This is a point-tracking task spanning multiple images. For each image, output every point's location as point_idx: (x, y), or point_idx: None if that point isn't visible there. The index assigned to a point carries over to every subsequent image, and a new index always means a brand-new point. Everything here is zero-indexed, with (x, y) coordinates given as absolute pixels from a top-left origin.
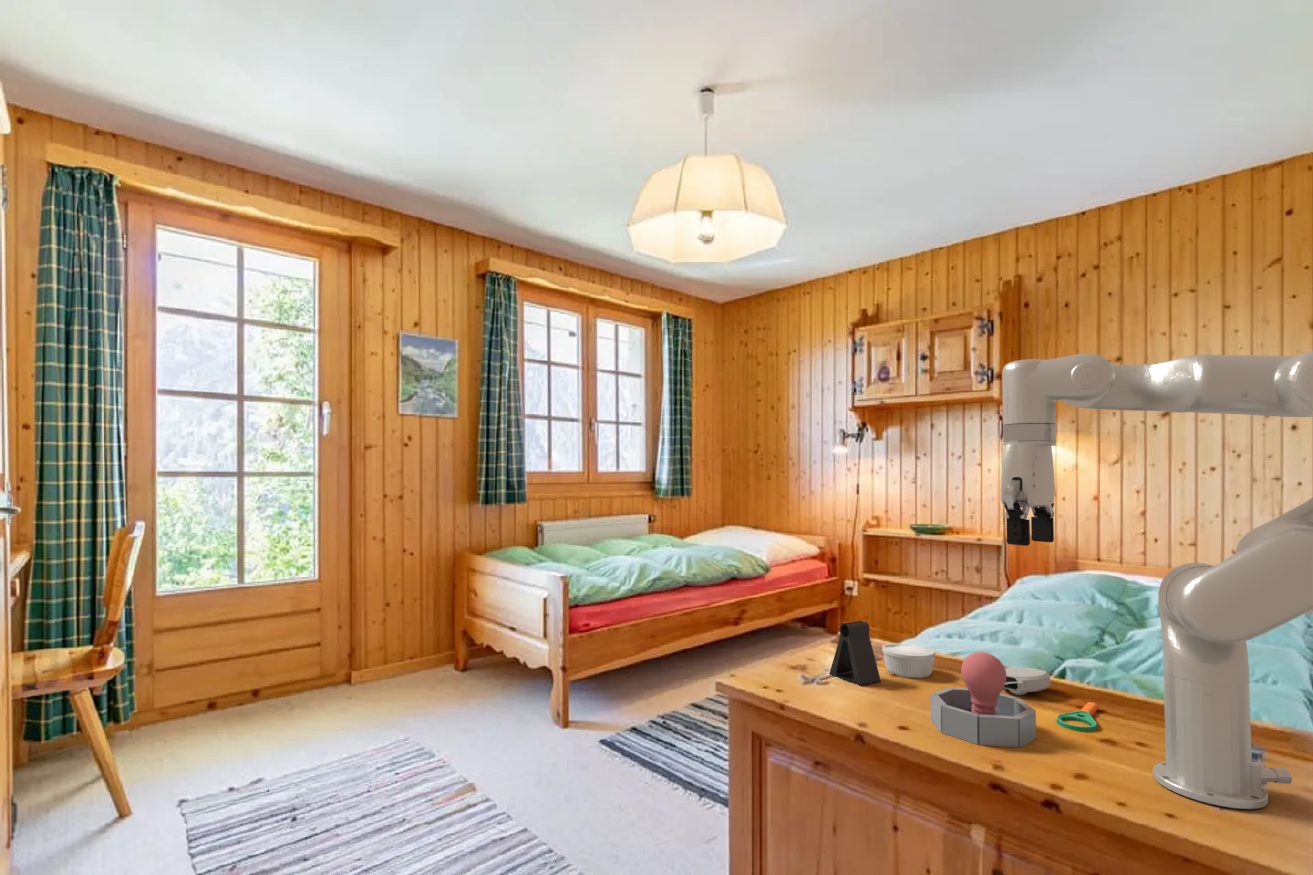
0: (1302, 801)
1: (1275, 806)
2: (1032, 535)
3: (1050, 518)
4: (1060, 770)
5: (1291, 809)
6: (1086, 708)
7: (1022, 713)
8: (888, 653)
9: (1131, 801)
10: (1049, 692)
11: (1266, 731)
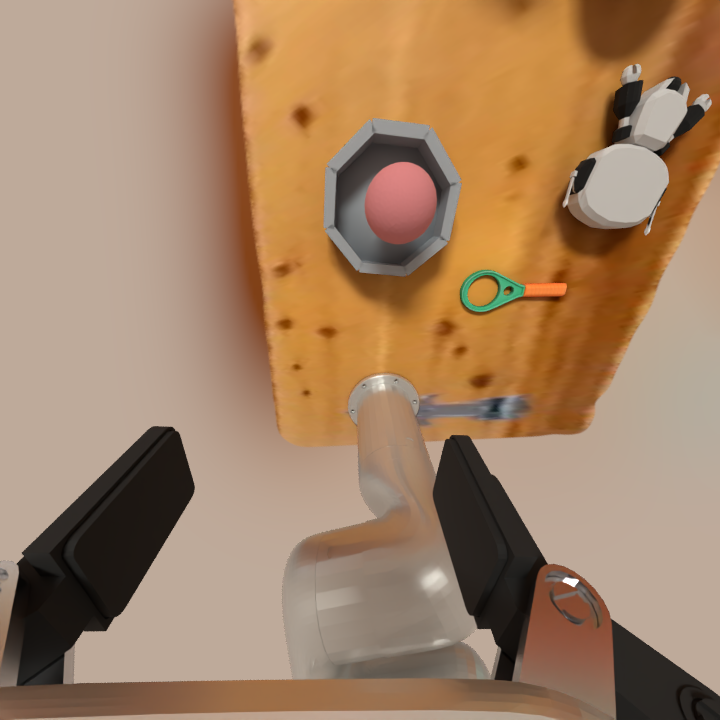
0: None
1: None
2: (453, 455)
3: (480, 618)
4: (327, 316)
5: None
6: (536, 290)
7: (383, 267)
8: None
9: (308, 371)
10: None
11: (573, 416)
